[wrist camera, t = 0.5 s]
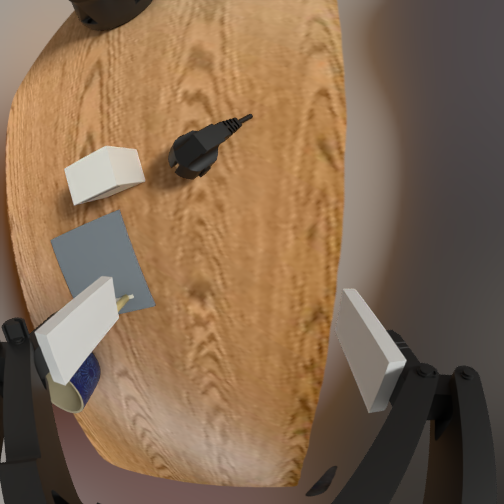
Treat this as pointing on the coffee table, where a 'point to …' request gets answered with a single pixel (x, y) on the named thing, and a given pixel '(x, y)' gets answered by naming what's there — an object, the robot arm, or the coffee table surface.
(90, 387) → the planter
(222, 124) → the power plug
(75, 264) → the board
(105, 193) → the block
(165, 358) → the coffee table surface
